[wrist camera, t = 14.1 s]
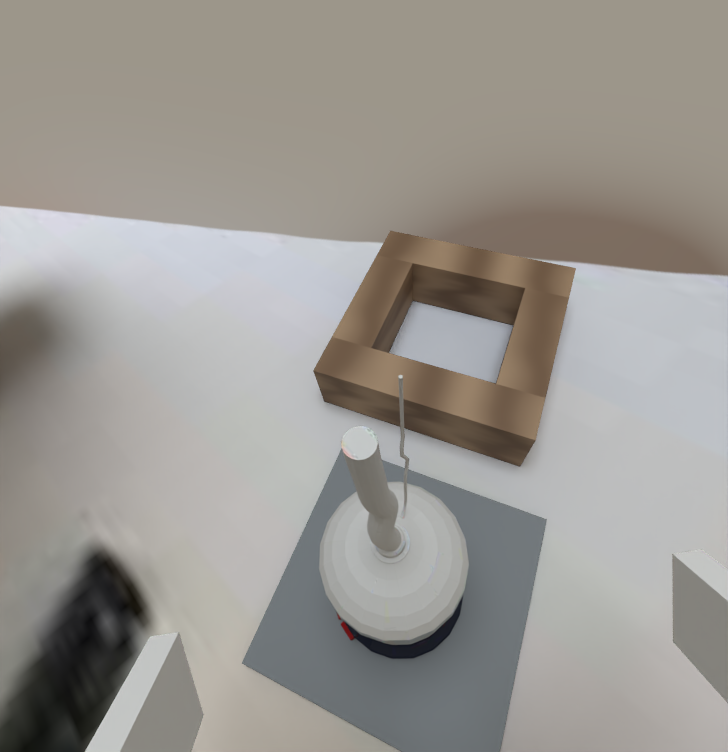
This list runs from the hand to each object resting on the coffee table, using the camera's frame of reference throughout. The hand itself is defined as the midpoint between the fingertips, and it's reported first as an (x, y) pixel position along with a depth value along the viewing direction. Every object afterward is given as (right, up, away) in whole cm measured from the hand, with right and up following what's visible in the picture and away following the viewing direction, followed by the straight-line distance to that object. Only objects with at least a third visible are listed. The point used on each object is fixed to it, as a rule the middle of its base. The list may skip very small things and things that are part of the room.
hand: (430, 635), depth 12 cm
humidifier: (+1, -8, +18) cm, 20 cm away
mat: (+1, -8, +18) cm, 20 cm away
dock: (+6, +9, +28) cm, 30 cm away
